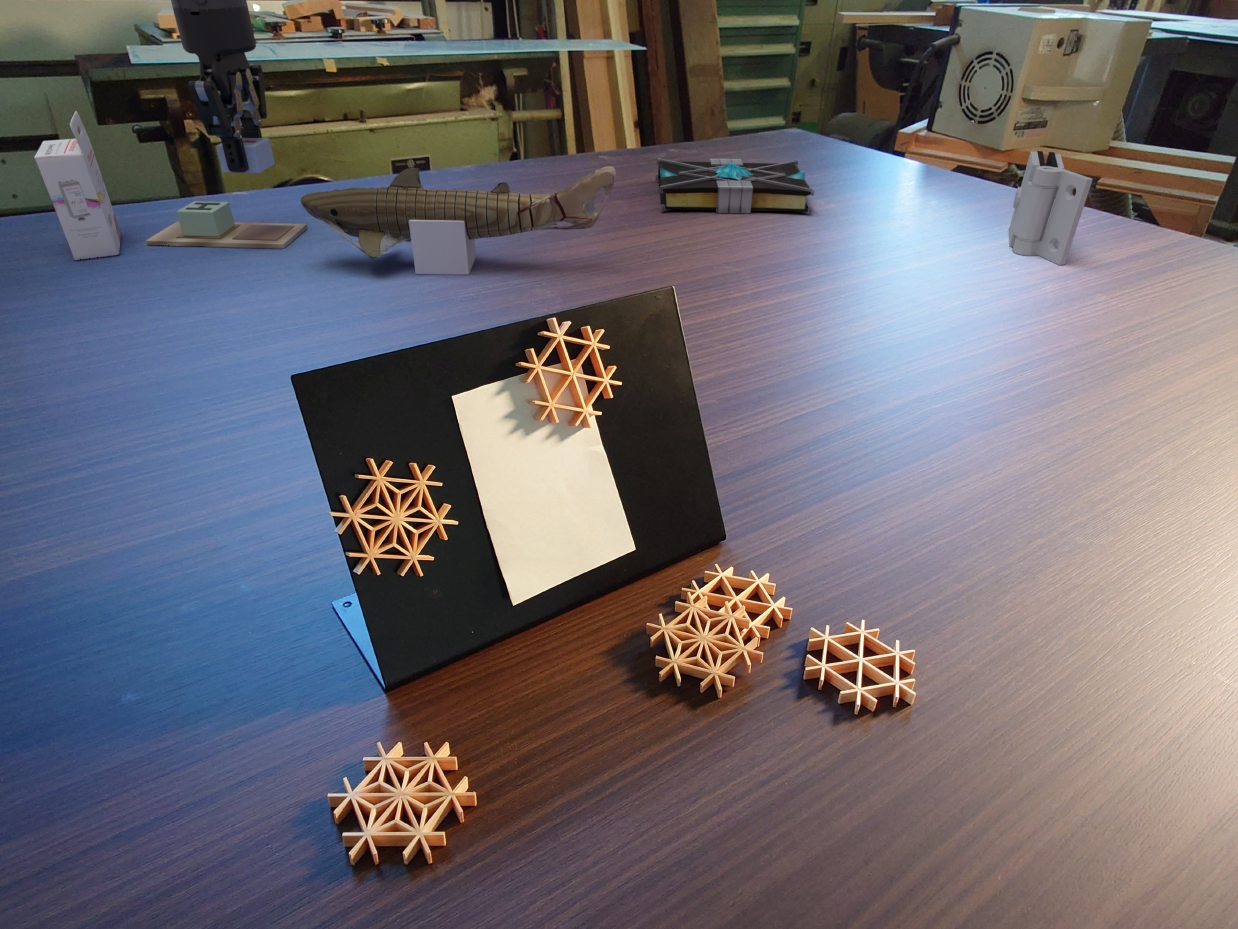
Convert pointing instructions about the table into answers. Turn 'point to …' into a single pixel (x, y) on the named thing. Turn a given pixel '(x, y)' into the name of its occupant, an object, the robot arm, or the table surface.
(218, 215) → the tile
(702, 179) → the book
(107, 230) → the ink cartridge box
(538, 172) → the table surface
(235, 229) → the word board
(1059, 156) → the hinge
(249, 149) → the tile
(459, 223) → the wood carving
